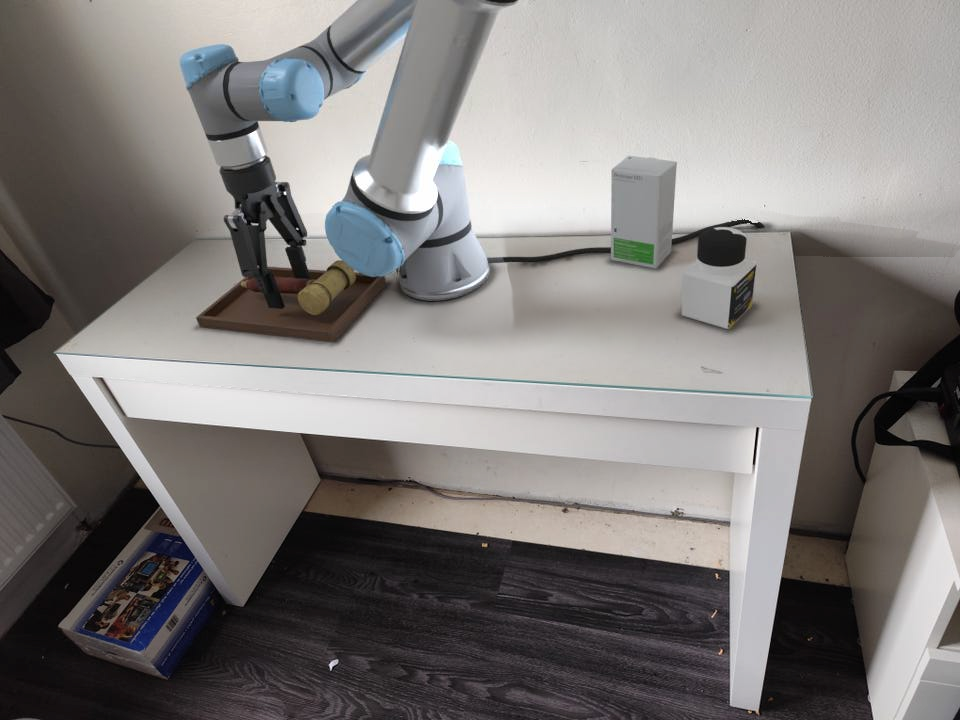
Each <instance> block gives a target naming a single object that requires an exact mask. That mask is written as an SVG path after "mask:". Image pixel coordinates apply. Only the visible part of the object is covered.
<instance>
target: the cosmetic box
mask: <svg viewBox="0 0 960 720" xmlns="http://www.w3.org/2000/svg"><path fill="white" fill-rule="evenodd" d="M677 166H678V161H674V160H667V159H660V158H655V157H649V156H648V157H644V156H637V155H626V156H625V158H623V159H622V160H621V161H620V162H619V163H617V164H616V165H615V166H614V167H612V168H611V179H610V180H611V182H610V183H611V184H610V185H611V187H610V188H611V191H610V192H611V193H610V195H611V197H610V198H611V199H610V201H611V202H610V203H611V205H610V247H611V253H610V260H611V261H613V262H620V263H624V264H630V265H635V266H639V267H645V268H649V269H655V270H657V268H658V267H660V265H661V264H662V263H663V262H664V261H665V259H666V258H667V257H668V256H669V255H670V254H671V253H672V245H671V244H672V239H673V229H674V227H673V226H674V215H675V214H674V213H675V210H674V209H675V198H676V182H677V169H678V167H677Z"/></svg>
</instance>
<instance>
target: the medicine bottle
mask: <svg viewBox="0 0 960 720" xmlns="http://www.w3.org/2000/svg"><path fill="white" fill-rule="evenodd" d="M747 240H748V238H747V236H746V235H745V233H743V231H741V230H740V229H737V228H734V227H729V228H728V227H717V228H712V229H708V230H706V231H704V232H703V233H702V234H701V235H700V236H698V237H697V249H696V251H697V252H696V261H695V262H693V264H692V265H690V266H689V267H688V268H687V269H686V270H685V271H683V273H682V292H681V293H682V296H681V316H682V317H685V318H688V319H692V320H695V321H698V322H702V323H705V324H709V325H712V326H715V327H718V328H721V329H725V330H729V329H731V328H732V327H733V326H734V325H735V324H736V323H737V321H738V320H739V319H740V318H741V317H743V315H745V313H746V312H747V311H748V310H749V309H750V308H752V305H753V299H754V289H755V280H756V273H757V272H756V271H757V262H756V261H754V260H750V259H746V252H747V242H748V241H747Z"/></svg>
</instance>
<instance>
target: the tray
mask: <svg viewBox="0 0 960 720" xmlns="http://www.w3.org/2000/svg"><path fill="white" fill-rule="evenodd" d="M258 267H259V266H258ZM267 270H268V271H272V272H273V275H274V278H295V277H294V274H293V271H292V268H291V267H281V266H280V267H278V266H267ZM308 271H309V274H310V277H311V280H317V279H318V278H320V277H321V276H322V275H323V274H324V273H325V272H326V271H327V269H326V270H325V269H310V268H308ZM355 274H356V280H355V282H354V283H353V284H352V285H351V286H350V287H349V288H347V289H346V290H343V291H342V292H341V293H339V294H338V295H337V296H336V297H335V298H334V299H333V300H332V301H331V302H330V303H329V306H328V307H327V308H326V309H325V310H324V311H323V312H322V313H321V314H320V315H312V314H309V313H308V312H306V311H305V310H304V309H303V308H302V307H301V305H300V303H299V301H298V294H286V293H280V294H281V297H282V300H283V302H284V305H285V307H284V308H283V309H277V308H269V307H268V304H267V301H266V299H265V296H264V294H263V293H261V292H253V291H251V290H249V289H246V288H245V287H242V286H241V283H242V282H245V281H247V280H250V279H252V278H255V277H243V279H241V280H240V281H239V282H237V283H236V284H235V285H234V286H233V287H231V288H230V289H229V290H227V291H226V292H225V293H224V294H223V295H222V296H221V297H219V298H218V299H216V300H215V301H214V302H213V303H211V305H209V306H207V308H205V309H204V310H203V311H201V313H199V314H198V315H197V316H196V317H195V319H196V322H197V324H198V326H199V328H206V329H215V330H223V331H232V332H233V331H234V332H241V333H248V334H249V333H250V334H256V335H257V334H258V335H266V336H267V335H268V336H274V337H275V336H277V337H285V338H293V339H300V340H301V339H302V340H310V341H320V342H329V343H335V342H336V341H337V340H338V338H340V336H341V335H342V334H343V333H344V332H345V331H346V330H347V329H348V327H349V326H350V325H351V324H352V323H353V322H354V321H355V320H356V318H358V316H360V314H361V313H362V312H363V311H364V310H365V309H366V308H367V307H368V305H370V303H371V302H372V301H373V300H374V299H375V298H376V297H377V295H379V293H380V292H381V291H382V290H384V288H385V287H386V285H387V284H388V283H387V280H386V279H387V278H386V276H377V277H371V276H367V275H364V274H361V273H359V272H355Z"/></svg>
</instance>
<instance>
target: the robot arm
mask: <svg viewBox="0 0 960 720" xmlns="http://www.w3.org/2000/svg"><path fill="white" fill-rule="evenodd" d="M519 1H520V0H356V1H355V2H353V4H351V5H350V6H349V7H348V8H347V9H346V10H345V11H343V13H342V14H341V15H339V16H338V17H337V18H336V19H335V20H334V21H332V23H331V24H330V25H329V26H328V27H327V28H325V29H324V30H323V31H322V32H321V33H320V34H319V35H317V36H316V37H315V38H314V39H312V40H310V41H309V42H307V43H303V44H301V45H299V46H297V47H294V48H292V49H289V50H288V51H285V52H282V53H280V54H278V55H275V56H272V57H270V58H268V59H265V60H264V59H263V60H254V61H239V58H238V57H237V55H236V52H235V50H234V48H233V47H232V46H231V45H229V44H224V43H223V44H222V43H221V44H220V43H219V44H212V45H206V46H202V47H198V48H194V49H192V50H189V51H186V52H184V53H183V54H182V55H181V56H180V58H179V67H180V70H181V73H182V77H183V80H184V83H185V86H186V87H185V88H186V91H188V94H189V96H190V99H191V101H192V104H193V106H194V109H195V111H196V114H197V117H198V119H199V121H200V125H201V126H202V130H203V132H204V135H205V138H206V139H207V143H208V146H209V148H210V150H211V153H212V155H213V158H214V161H215V163H216V165H217V166H218V167H220V168H219V174H220V177H221V180H222V182H223V185H224V187H225V190H226V192H227V193H229V195H230V196H232V198H233V199H234V200H233V201H234V211H232V213H231V214H225V215H224V216H223V222H224V224H225V225H226V227H227V229H228V231H229V233H230V237H231V241H232V244H233V249H234V252H235V255H236V258H237V262H238V266H239V270H240V273H241V276H242V277H243V278H245V277H255V279H256V282H257V285H258V287H259V290H260V292H261V293H263V294H264V296H265V299H266V301H267V304H268V307H269V308H277V309H283V308H284V307H285V305H284V302H283V300H282V297H281V294H280V292H279V289H278V286H277V283H276V281H275V278H274V275H273V272H272V271H268V270H267V267H268V259H267V248H266V247H267V245H266V236H265V232H266V230H267V222H268V221H269V222H270V223H271V225H272V226H273V228H274V229H275V231H277V232H278V234H279V235H280V237H281V238H282V240H283V241H284V242H285V243H286V245H288V246H286V247H285V248H284V250H285V253H286V256H287V260H288V262H289V265H290V268H292V271H293V274H294V277H295V278H297V279H308V280H311V277H310V274H309V271H308V269H309V268H308V264H307V258H306V255H305V251H304V248H303V247H305V246H307V239H304V238H307V237H308V231H307V228H306V226H305V223H304V221H303V219H302V216H301V214H300V212H299V210H298V207H297V205H296V203H295V201H294V198H293V196H292V192H291V185H290V183H289V182H288V181H277V175H276V172H275V170H274V167H273V163H272V160H271V158H270V157H269V156H268V155H267V154H268V152H269V150H268V148H267V144H266V142H265V138H264V136H263V133H262V130H261V127H260V124H259V122H283V123H296V122H297V121H308V120H311V119H313V118H315V117H316V116H317V115H318V114H319V113H320V108H321V107H322V106H323V104H324V101H325V100H326V99H328V98H329V97H331V96H333V95H335V94H338V93H340V92H341V91H343V90H347V89H350V88H351V87H352V86H354V85H356V84H357V83H358V82H359V81H361V80H362V79H363V78H364V77H365V75H366V74H367V72H368V71H369V70H370V69H371V68H372V67H373V66H375V65H376V64H377V63H379V62H380V61H381V60H382V59H383V58H385V57H386V56H387V55H389V54H390V53H391V52H392V51H394V50H395V49H396V48H398V47H399V46H400V45H401V44H402V43H403V45H402V48H401V51H400V54H399V57H398V60H397V64H396V67H395V71H394V73H393V77H392V81H391V84H390V88H389V91H388V93H387V96H386V100H385V104H384V107H383V110H382V114H381V117H380V121H379V124H378V127H377V131H376V134H375V136H374V140H373V145H372V147H371V149H370V154H367V155H364V156H362V157H361V158H359V159H358V160H357V161H356V162H355V164H354V167H353V169H352V172H351V176H350V179H349V183H348V187H347V189H346V193H345V195H344V197H343V198H342V200H341V201H336V202H335V203H334V205H332V207H331V208H330V209H329V211H328V212H327V214H326V216H325V218H324V219H325V220H324V231H325V235H326V239H327V241H328V243H329V245H330V246H331V248H332V249H333V250H334V253H335V254H336V256H337V257H338V258H339V260H342V261H343V262H344V263H345V264H347V265H348V266H349V267H351V268H352V269H354V271H355V272H356V273H361V274H364V275H367V276H371V277H377V276H385V277H386V276H389V275H390V274H392V273H393V272H394V271H396V276H398V280H399V284H400V288H401V290H402V292H404V294H406V295H407V296H408V297H411V298H413V299H416V300H421V301H427V302H428V301H429V302H433V301H436V302H437V301H446V300H451V299H456V298H460V297H462V296H465V295H468V294H471V293H472V292H474V291H476V290H477V289H478V288H480V287H482V286H483V285H484V284H485V283H486V281H487V280H488V279H489V276H490V274H491V269H490V264H507V263H522V264H523V263H524V264H525V263H526V264H527V263H529V264H530V263H532V264H533V263H544V262H550V261H555V260H559V259H564V258H568V257H569V258H570V257H573V256H580V255H587V254H589V255H590V254H611V246H609V247H608V246H607V247H606V246H605V247H604V246H603V247H602V246H600V247H599V246H597V247H595V246H594V247H583V248H575V249H570V250H565V251H561V252H557V253H552V254H547V255H540V256H491V257H487V255H486V253H485V251H484V249H483V247H482V245H481V244H480V241H479V240H478V238H477V236H476V234H475V232H474V230H473V226H472V219H471V213H470V206H469V200H468V199H469V198H468V194H467V186H466V181H465V174H464V173H465V172H464V163H463V162H462V159H461V153H460V149H459V147H458V145H457V144H456V143H455V142H453V141H451V140H449V139H450V137H451V134H452V131H453V129H454V127H455V124H456V121H457V118H458V116H459V114H460V110H461V108H462V106H463V104H464V101H465V99H466V96H467V93H468V90H469V88H470V86H471V83H472V81H473V78H474V75H475V73H476V71H477V68H478V66H479V62H480V60H481V58H482V55H483V52H484V50H485V47H486V45H487V42H488V40H489V38H490V35H491V32H492V30H493V28H494V25H495V23H496V19H497V17H498V15H499V12H500V11H501V10H503V9H505V8H509V7H512V6H513V5H516V4H517V3H518V2H519ZM741 219H742V218H741ZM736 220H737V219H736ZM730 221H731V222H729V221H725V222H722V223H718V224H714V225H710V226H706V227H704V228H701V229H698V230H695V231H693V232H690V233H688V234H685V235H682V236H678V237H675V238H672V244H671V246H674V245H677V244H680V243H681V244H682V243H684V242H689V241H691V240H694V239H696V238H698V237H699V236H700V235H701V234H702V233H703V232H704V231H706V230H708V229H712V228H717V227H728V228H733V227H736V226H740V225H748V224H747V223H750V224H749V225H752V226H754V227H756V228H757V229H764V228H765V225H764V224H763V223H762V222H760V221H759V222H758V223H752V222H751V221H749V220H745V219H744V220H743V219H742V220H737V221H733V220H730ZM258 266H259V267H258Z"/></svg>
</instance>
